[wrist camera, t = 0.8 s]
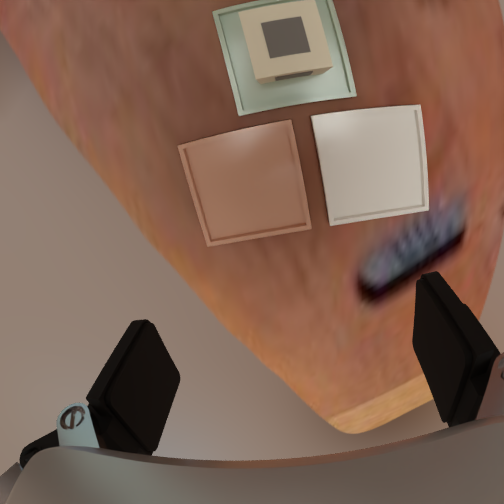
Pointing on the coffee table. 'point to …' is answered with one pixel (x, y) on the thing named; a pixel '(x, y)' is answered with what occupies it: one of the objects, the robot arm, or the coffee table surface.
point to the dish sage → (290, 90)
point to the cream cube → (286, 41)
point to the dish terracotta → (247, 183)
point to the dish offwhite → (372, 162)
